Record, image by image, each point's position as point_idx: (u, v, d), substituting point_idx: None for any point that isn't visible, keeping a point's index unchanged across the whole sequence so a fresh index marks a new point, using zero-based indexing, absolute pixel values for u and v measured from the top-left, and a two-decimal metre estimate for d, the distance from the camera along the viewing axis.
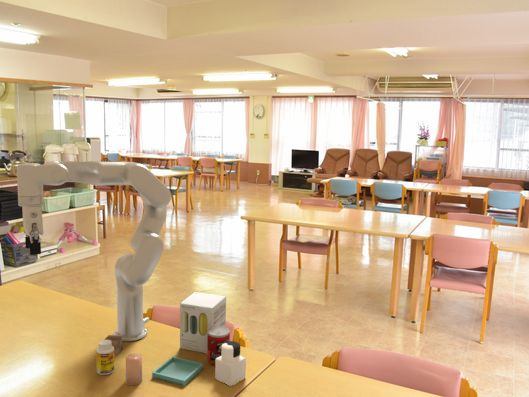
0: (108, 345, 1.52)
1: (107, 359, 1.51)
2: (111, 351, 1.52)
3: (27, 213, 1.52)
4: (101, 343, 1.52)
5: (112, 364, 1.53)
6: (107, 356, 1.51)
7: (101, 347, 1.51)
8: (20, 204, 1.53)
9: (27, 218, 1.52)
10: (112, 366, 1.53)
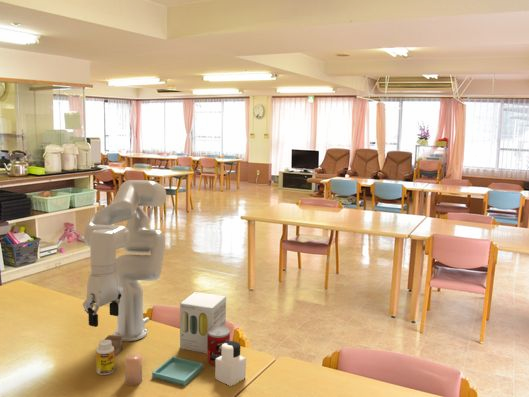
0: (108, 345, 1.52)
1: (107, 359, 1.51)
2: (111, 351, 1.52)
3: (116, 276, 1.53)
4: (101, 343, 1.52)
5: (112, 364, 1.53)
6: (107, 356, 1.51)
7: (101, 347, 1.51)
8: (115, 271, 1.50)
9: (117, 281, 1.53)
10: (112, 366, 1.53)
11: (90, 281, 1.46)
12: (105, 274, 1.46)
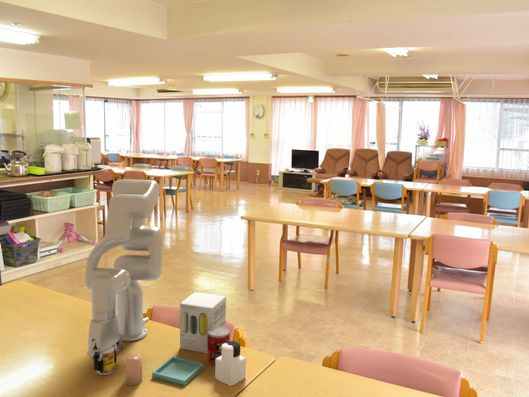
0: None
1: (107, 359, 1.51)
2: (111, 351, 1.52)
3: (117, 319, 1.55)
4: None
5: (112, 364, 1.53)
6: (107, 356, 1.51)
7: None
8: (116, 315, 1.52)
9: (118, 324, 1.56)
10: (112, 366, 1.53)
11: (91, 327, 1.48)
12: (106, 320, 1.48)
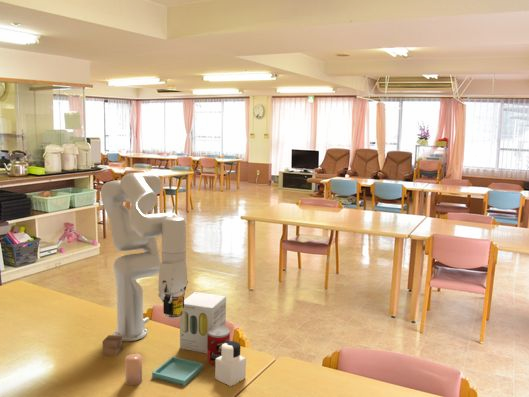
0: None
1: (176, 303, 1.49)
2: (180, 294, 1.49)
3: None
4: None
5: (181, 308, 1.50)
6: (176, 299, 1.48)
7: None
8: (185, 258, 1.49)
9: (186, 268, 1.53)
10: (181, 310, 1.50)
11: (162, 268, 1.45)
12: (176, 261, 1.46)
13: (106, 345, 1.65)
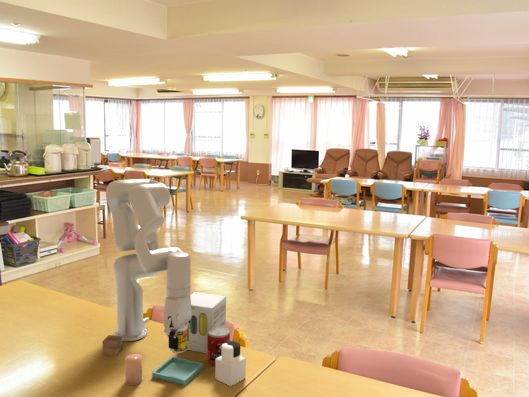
0: None
1: (181, 337, 1.50)
2: (185, 329, 1.51)
3: None
4: None
5: (186, 342, 1.52)
6: (182, 334, 1.50)
7: None
8: None
9: (190, 302, 1.55)
10: (186, 344, 1.52)
11: (167, 304, 1.47)
12: (181, 297, 1.47)
13: (106, 345, 1.65)
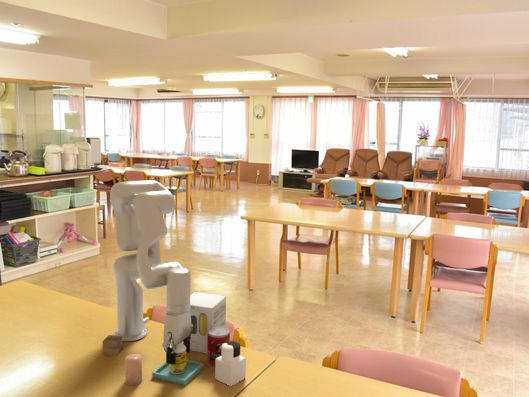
0: (181, 344, 1.52)
1: (180, 359, 1.52)
2: (184, 350, 1.52)
3: None
4: (173, 342, 1.52)
5: (184, 363, 1.53)
6: (180, 355, 1.52)
7: None
8: None
9: (190, 317, 1.56)
10: (185, 365, 1.54)
11: (167, 320, 1.48)
12: (181, 313, 1.48)
13: (106, 345, 1.65)
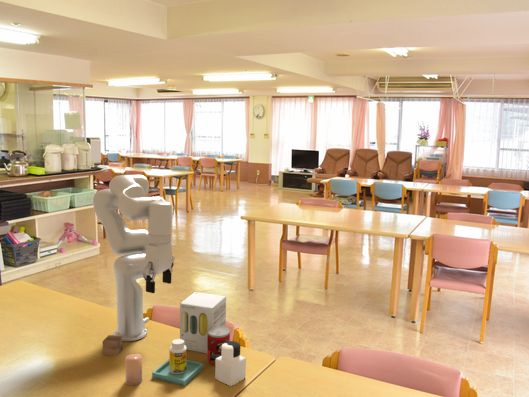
0: (181, 344, 1.52)
1: (180, 359, 1.52)
2: (184, 350, 1.53)
3: None
4: (174, 342, 1.53)
5: (185, 363, 1.53)
6: (180, 355, 1.52)
7: (175, 346, 1.52)
8: None
9: (171, 250, 1.60)
10: (185, 365, 1.54)
11: (148, 250, 1.52)
12: (162, 244, 1.53)
13: (106, 345, 1.65)
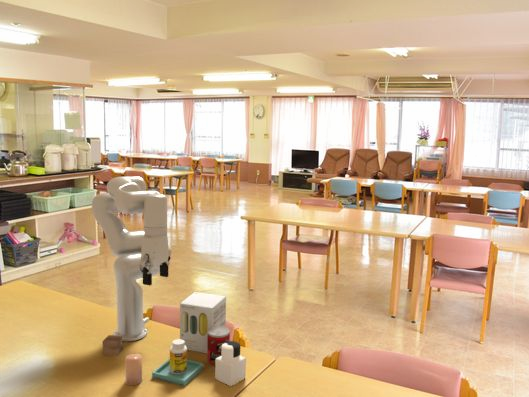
0: (182, 345, 1.52)
1: (180, 359, 1.52)
2: (184, 351, 1.53)
3: None
4: (175, 342, 1.52)
5: (185, 363, 1.53)
6: (181, 356, 1.52)
7: (175, 346, 1.52)
8: None
9: None
10: (185, 366, 1.54)
11: (144, 242, 1.53)
12: (158, 236, 1.54)
13: (106, 345, 1.65)
